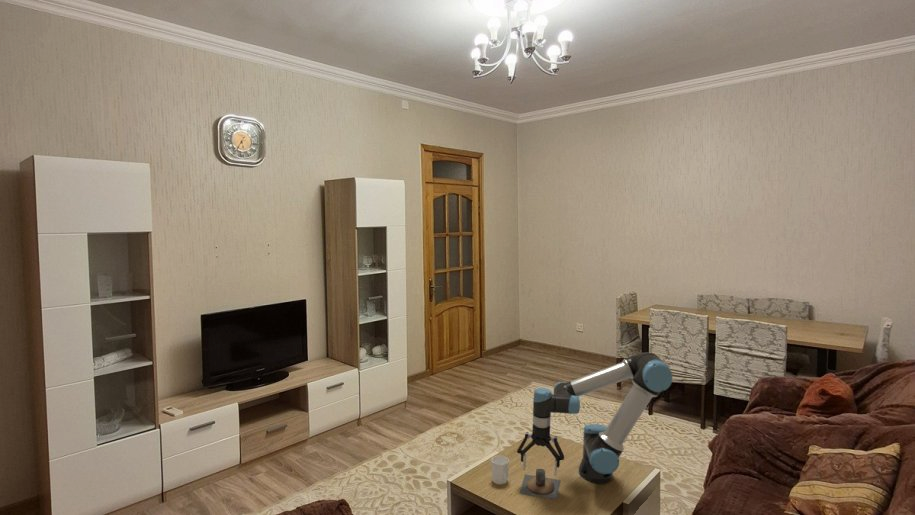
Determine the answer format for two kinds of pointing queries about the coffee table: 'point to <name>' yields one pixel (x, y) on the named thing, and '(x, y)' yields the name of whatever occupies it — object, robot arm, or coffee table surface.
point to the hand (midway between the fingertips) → (539, 471)
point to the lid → (540, 483)
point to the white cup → (500, 469)
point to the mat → (551, 495)
